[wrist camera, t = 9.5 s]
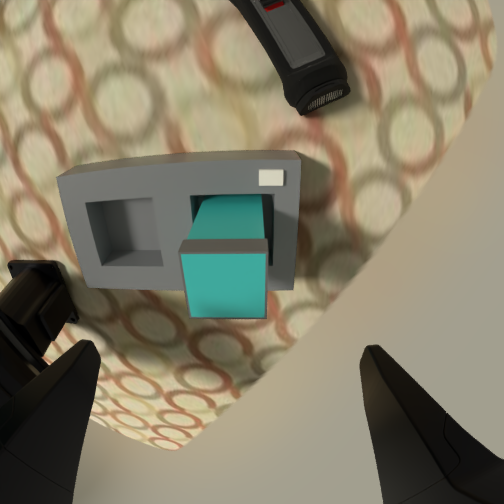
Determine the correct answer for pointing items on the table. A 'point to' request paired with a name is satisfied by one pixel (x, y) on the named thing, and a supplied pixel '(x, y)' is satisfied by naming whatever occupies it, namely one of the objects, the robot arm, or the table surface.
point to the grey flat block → (173, 212)
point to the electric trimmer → (297, 52)
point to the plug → (226, 259)
